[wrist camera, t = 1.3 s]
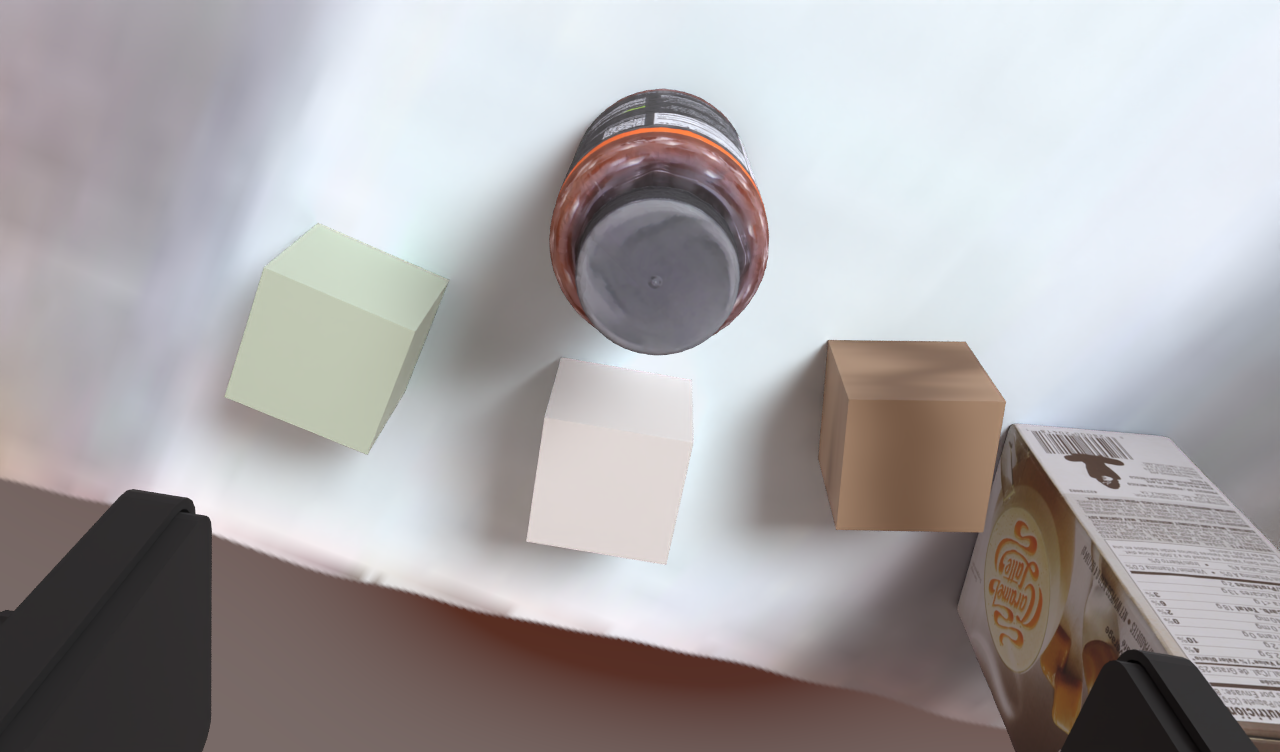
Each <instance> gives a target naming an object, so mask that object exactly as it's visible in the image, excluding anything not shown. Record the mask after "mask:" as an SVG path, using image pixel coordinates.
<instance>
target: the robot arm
mask: <svg viewBox="0 0 1280 752" xmlns="http://www.w3.org/2000/svg"><path fill="white" fill-rule="evenodd" d="M211 545H212V528H211V521H210V519H209V517H207V516H204V515H198V514H195V506H194V504H193V501H192V500H190V499H189V498H185V497H179V496H173V495H166V494H160V493H154V492H148V491H141V490H135V489H132V490H127V491H126V492H125V493H123V494H122V495H121V496H120V497H119V498H118V499H117V500H116V501H115V502H114V503H113V505H112V506H111V507H110V508H109V509H108V510H107V511H106V512H105V513H104V514H103V516H101V518H100V519H99V520H98V521H97V522H96V523H95V524H94V525H93V526H92V528H91V529H89V531H88V532H87V533H86V534H85V535H84V536H83V537H82V538H81V539H80V540H79V541H78V543H77V544H76V545H75V546H74V547H73V548H72V549H71V550H70V551H69V552H68V553H67V555H66V556H65V557H64V558H63V559H62V560H61V561H60V562H59V563H58V564H57V565H56V566H55V567H54V568H53V570H52V571H51V572H50V573H49V574H48V575H47V576H46V577H45V578H44V579H43V581H41V583H40V584H39V585H38V586H37V587H36V588H35V589H34V590H33V591H32V592H31V594H29V596H28V597H27V598H26V599H25V600H24V601H23V602H22V603H21V604H20V605H19V606H18V607H17V609H16V610H15V611H9V610H5V611H2V612H0V752H202V751H203V748H204V745H205V743H206V740H207V736H208V732H209V728H210V722H211V578H212V575H211V574H212V572H211V570H212V569H211V567H212V566H211V565H212V563H211V562H212V561H211V559H212V555H211V554H212V546H211ZM1060 752H1259V750H1258V749H1257V748H1256V746H1255V745H1254V744H1253V742H1252V741H1251V739H1250V738H1249V737H1248V735H1247V734H1246V733H1245V731H1244V730H1243V729H1242V727H1241V726H1240V725H1239V723H1238V722H1237V721H1236V719H1235V718H1234V716H1233V715H1232V714H1231V712H1230V711H1229V710H1228V708H1227V707H1226V706H1225V704H1224V703H1223V702H1222V700H1221V699H1220V697H1219V696H1218V695H1217V693H1216V692H1215V691H1214V689H1213V688H1212V687H1211V685H1210V684H1209V683H1208V681H1207V680H1206V678H1205V677H1204V676H1203V674H1202V673H1201V672H1200V670H1199V669H1198V668H1197V667H1196V666H1195V665H1194V664H1193V663H1192V662H1191V661H1190V660H1189V659H1186V658H1184V657H1180V656H1174V655H1168V654H1161V653H1155V652H1149V651H1143V650H1136V649H1132V650H1127V651H1125V652H1124V653H1122V654H1121V655H1120V656H1119V658H1118V659H1117V660H1112V661H1109V662H1107V663H1106V664H1104V666H1103V667H1102V669H1101V670H1100V672H1099V674H1098V676H1097V678H1096V680H1095V682H1094V684H1093V686H1092V688H1091V690H1090V692H1089V695H1088V697H1087V699H1086V701H1085V703H1084V705H1083V707H1082V709H1081V711H1080V713H1079V715H1078V717H1077V719H1076V721H1075V723H1074V725H1073V727H1072V729H1071V731H1070V733H1069V735H1068V737H1067V739H1066V741H1065V743H1064V745H1063V747H1062V749H1061V751H1060Z"/></svg>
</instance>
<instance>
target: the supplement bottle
mask: <svg viewBox="0 0 1280 752" xmlns="http://www.w3.org/2000/svg"><path fill="white" fill-rule="evenodd" d="M768 231H769V230H768V223H767V217H766V213H765V209H764V204H763V201H762V198H761V196H760V192H759V190H758V187H757V184H756V181H755V178H754V175H753V172H752V169H751V166H750V163H749V160H748V157H747V154H746V151H745V148H744V146H743V144H742V142H741V139H740V138H739V136H738V134H737V132H736V130H735V129H734V127H733V126H732V124H731V123H730V122H729V120H728V119H727V118H726V117H725V116H724V115H723V114H722V113H721V112H720V111H719V110H717V109H716V108H715V107H714V106H712V105H711V104H710V103H708V102H706V101H705V100H703V99H701V98H699V97H697V96H694V95H692V94H689V93H685V92H681V91H677V90H668V89H656V90H646V91H643V92H638V93H635V94H633V95H630V96H627V97H625V98H623V99H621V100H619V101H617V102H616V103H615V104H613V105H612V106H610V107H609V108H607V109H606V110H605V111H604V112H603V113H602V114H601V115H600V116H599V117H598V118H597V119H596V120H595V121H594V122H593V123H592V125H591V126H590V127H589V128H588V130H587V131H586V133H585V135H584V137H583V139H582V141H581V143H580V145H579V148H578V150H577V152H576V154H575V157H574V159H573V162H572V164H571V166H570V168H569V171H568V173H567V175H566V178H565V180H564V182H563V185H562V187H561V190H560V192H559V195H558V198H557V201H556V205H555V208H554V211H553V216H552V220H551V226H550V238H549V241H550V254H551V261H552V265H553V270H554V273H555V275H556V278H557V281H558V283H559V285H560V288H561V290H562V292H563V293H564V295H565V296H566V298H567V300H568V301H569V302H570V304H571V305H572V306H573V308H574V309H575V310H576V311H577V313H578V314H580V315H581V316H582V318H584V319H585V320H586V321H587V322H588V323H589V324H591V325H592V326H593V327H595V328H596V329H597V330H598V331H599V332H600V333H602V334H603V335H604V336H605V337H606V338H608V339H609V340H611V341H612V342H613V343H615V344H617V345H619V346H621V347H623V348H625V349H629V350H631V351H634V352H637V353H643V354H648V355H668V354H674V353H679V352H683V351H685V350H688V349H691V348H693V347H695V346H697V345H699V344H701V343H702V342H704V341H705V340H707V339H708V338H710V337H711V336H713V335H714V334H716V333H718V332H719V331H720V330H722V329H723V328H725V327H726V326H728V325H729V324H730V323H731V322H732V321H733V320H734V319H735V318H736V317H737V316H738V315H739V314H740V313H741V312H742V311H743V310H744V309H745V307H746V306H747V305H748V304H749V302H750V301H751V299H752V297H753V296H754V294H755V293H756V291H757V289H758V287H759V285H760V283H761V281H762V278H763V276H764V271H765V269H766V263H767V259H768V246H769V232H768Z"/></svg>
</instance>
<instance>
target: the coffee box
mask: <svg viewBox="0 0 1280 752" xmlns="http://www.w3.org/2000/svg"><path fill="white" fill-rule="evenodd" d="M957 611H958V614H959V616H960V618H961V620H962V623H963V625H964V628H965V630H966V633H967V635H968V638H969V640H970V642H971V645H972V647H973V650H974V652H975V655H976V657H977V660H978V662H979V664H980V667H981V670H982V672H983V674H984V676H985V678H986V681H987V683H988V686H989V688H990V690H991V692H992V695H993V698H994V701H995V703H996V705H997V708H998V710H999V713H1000V715H1001V717H1002V719H1003V722H1004V725H1005V726H1006V729H1007V732H1008V734H1009V736H1010V739H1011V742H1012V745H1013V747H1014V749H1015V752H1060V751H1061V749H1062V747H1063V745H1064V743H1065V741H1066V739H1067V737H1068V735H1069V733H1070V731H1071V729H1072V727H1073V725H1074V723H1075V721H1076V719H1077V717H1078V715H1079V713H1080V711H1081V709H1082V707H1083V705H1084V703H1085V701H1086V699H1087V697H1088V695H1089V692H1090V690H1091V688H1092V686H1093V684H1094V682H1095V680H1096V678H1097V676H1098V674H1099V672H1100V670H1101V669H1102V667H1103V666H1104V664H1106V663H1107V662H1109V661H1112V660H1117V659H1118V658H1119V656H1120V655H1121V654H1122V653H1124V652H1125V651H1127V650H1132V649H1136V650H1143V651H1149V652H1155V653H1161V654H1168V655H1174V656H1180V657H1184V658H1186V659H1189V660H1190V661H1191V662H1192V663H1193V664H1194V665H1195V666H1196V667H1197V668H1198V669H1199V670H1200V672H1201V673H1202V674H1203V676H1204V677H1205V678H1206V680H1207V681H1208V683H1209V684H1210V685H1211V687H1212V688H1213V689H1214V691H1215V692H1216V693H1217V695H1218V696H1219V697H1220V699H1221V700H1222V702H1223V703H1224V704H1225V706H1226V707H1227V708H1228V710H1229V711H1230V712H1231V714H1232V715H1233V716H1234V718H1235V719H1236V721H1237V722H1238V723H1239V725H1240V726H1241V727H1242V729H1243V730H1244V731H1245V733H1246V734H1247V735H1248V737H1249V738H1250V739H1251V741H1252V742H1253V744H1254V745H1255V746H1256V748H1257V749H1258V750H1259V752H1280V551H1279V550H1278V549H1277V548H1276V547H1275V546H1274V545H1273V544H1272V543H1271V542H1270V541H1269V540H1268V539H1267V538H1266V537H1265V536H1264V535H1263V534H1262V533H1261V532H1260V531H1259V530H1258V529H1257V528H1256V527H1255V526H1254V525H1253V524H1252V523H1251V522H1250V521H1249V519H1248V518H1247V517H1246V516H1245V515H1244V514H1243V513H1242V512H1241V511H1240V510H1239V509H1238V508H1237V507H1236V506H1235V505H1234V504H1233V503H1232V502H1231V501H1230V500H1229V499H1228V498H1227V497H1226V496H1225V495H1224V494H1223V493H1222V492H1221V491H1220V490H1219V489H1218V487H1217V486H1216V485H1214V484H1213V483H1212V482H1211V480H1210V479H1208V478H1207V477H1206V476H1205V474H1204V473H1203V472H1202V471H1201V470H1200V469H1199V468H1198V467H1197V466H1196V465H1195V464H1194V463H1193V462H1192V461H1191V460H1190V459H1189V458H1188V457H1187V455H1186V454H1185V453H1184V452H1182V451H1181V450H1180V449H1179V447H1178V446H1177V445H1176V444H1175V443H1174V442H1173V441H1172V440H1171V439H1169V438H1167V437H1163V436H1157V435H1146V434H1133V433H1122V432H1110V431H1098V430H1087V429H1077V428H1064V427H1052V426H1041V425H1029V424H1013V425H1011V427H1010V429H1009V431H1008V434H1007V437H1006V441H1005V444H1004V448H1003V451H1002V454H1001V457H1000V461H999V464H998V468H997V471H996V474H995V478H994V481H993V485H992V488H991V492H990V497H989V502H988V508H987V514H986V520H985V526H984V531H983V532H979V533H978V536H977V540H976V543H975V547H974V551H973V554H972V558H971V561H970V565H969V568H968V572H967V575H966V579H965V582H964V586H963V589H962V592H961V596H960V599H959V603H958V607H957Z"/></svg>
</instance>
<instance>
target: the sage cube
mask: <svg viewBox="0 0 1280 752" xmlns="http://www.w3.org/2000/svg"><path fill="white" fill-rule="evenodd" d="M448 282H449V280H448V279H446V278H443V277H441V276H439V275H436V274H434V273H432V272H430V271H427V270H425V269H423V268H420V267H418V266H416V265H413V264H411V263H409V262H407V261H404V260H402V259H400V258H397V257H395V256H393V255H391V254H388V253H386V252H384V251H381V250H379V249H377V248H374V247H372V246H370V245H368V244H365V243H363V242H361V241H358V240H356V239H354V238H351V237H349V236H347V235H345V234H342V233H340V232H338V231H335V230H333V229H331V228H329V227H326V226H324V225H322V224H319V223H317V224H316V225H315V226H314V227H313V228H311V229H310V230H309V231H308V232H306V233H305V234H304V235H303V236H302V237H300V238H299V239H298V240H297V241H295V242H294V243H293V244H292V245H291V246H289V247H288V248H287V249H286V250H284V251H283V252H282V253H281V254H280V255H278V256H277V257H276V258H275V259H274V260H272V261H271V262H270V263H269V264H267V265H266V266H265V267H264V269H263V272H262V276H261V279H260V282H259V285H258V289H257V292H256V295H255V298H254V302H253V305H252V308H251V312H250V315H249V318H248V321H247V325H246V328H245V331H244V335H243V338H242V341H241V344H240V348H239V351H238V354H237V358H236V361H235V364H234V367H233V371H232V374H231V377H230V380H229V384H228V387H227V390H226V394H225V398H228V399H230V400H233V401H235V402H238V403H240V404H243V405H245V406H248V407H250V408H253V409H255V410H258V411H260V412H263V413H265V414H267V415H270V416H272V417H275V418H277V419H280V420H282V421H285V422H287V423H290V424H292V425H295V426H297V427H300V428H302V429H305V430H307V431H310V432H312V433H315V434H317V435H319V436H322V437H324V438H327V439H329V440H332V441H334V442H337V443H339V444H342V445H344V446H347V447H349V448H352V449H354V450H357V451H359V452H362V453H364V454H366V455H368V453H369V451H370V450H371V448H372V446H373V444H374V443H375V441H376V439H377V438H378V436H379V434H380V433H381V431H382V429H383V428H384V426H385V424H386V423H387V421H388V419H389V418H390V416H391V414H392V413H393V411H394V409H395V408H396V406H397V404H398V403H399V401H400V399H401V398H402V396H403V394H404V393H405V391H406V388H407V385H408V383H409V380H410V378H411V375H412V373H413V370H414V368H415V365H416V363H417V360H418V358H419V355H420V353H421V350H422V348H423V345H424V343H425V340H426V337H427V335H428V332H429V330H430V327H431V325H432V322H433V320H434V317H435V315H436V312H437V310H438V307H439V305H440V302H441V300H442V297H443V295H444V292H445V290H446V287H447V284H448Z"/></svg>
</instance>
